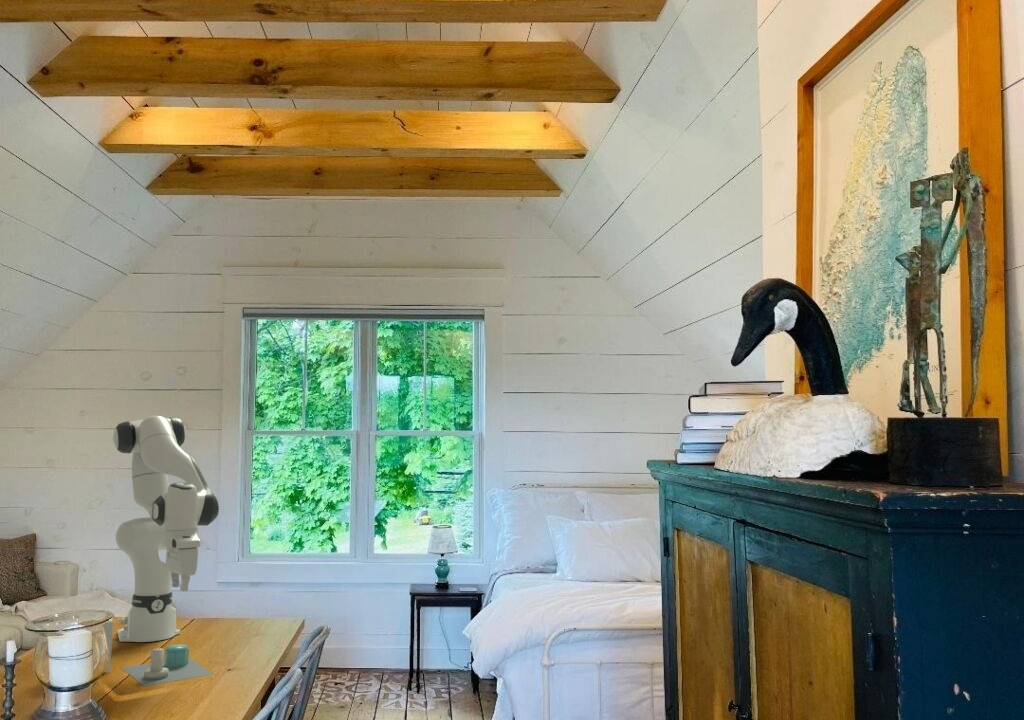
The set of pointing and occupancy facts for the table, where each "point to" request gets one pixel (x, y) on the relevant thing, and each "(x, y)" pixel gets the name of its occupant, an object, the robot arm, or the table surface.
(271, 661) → the table surface
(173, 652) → the cap
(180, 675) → the post board
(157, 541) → the robot arm
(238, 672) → the table surface
